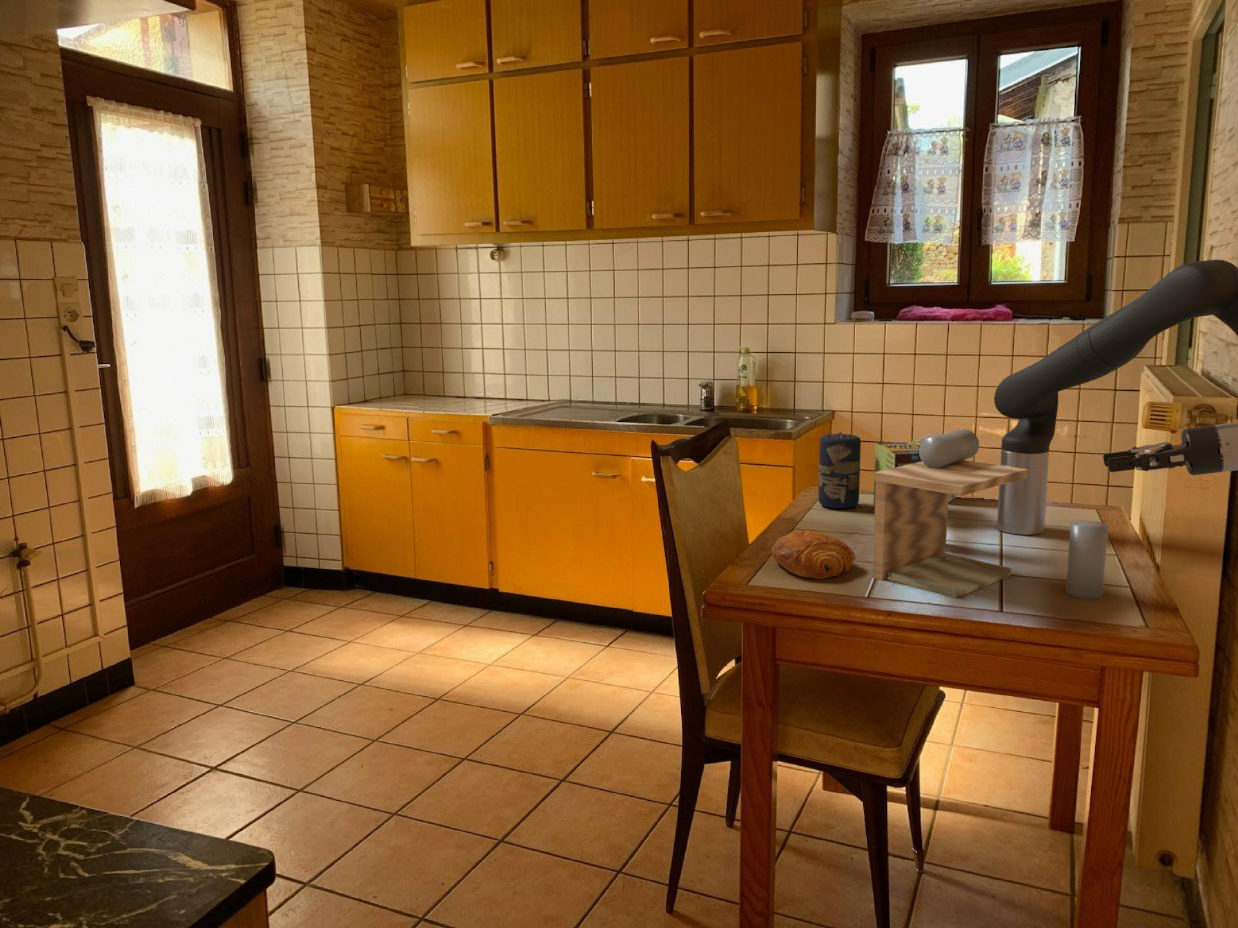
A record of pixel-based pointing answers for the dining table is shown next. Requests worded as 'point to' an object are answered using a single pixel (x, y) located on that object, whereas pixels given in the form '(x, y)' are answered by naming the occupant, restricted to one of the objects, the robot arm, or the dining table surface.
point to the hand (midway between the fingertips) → (1105, 463)
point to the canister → (839, 470)
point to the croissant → (813, 554)
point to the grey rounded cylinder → (1086, 559)
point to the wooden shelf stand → (930, 525)
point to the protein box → (894, 456)
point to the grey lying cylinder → (948, 448)
